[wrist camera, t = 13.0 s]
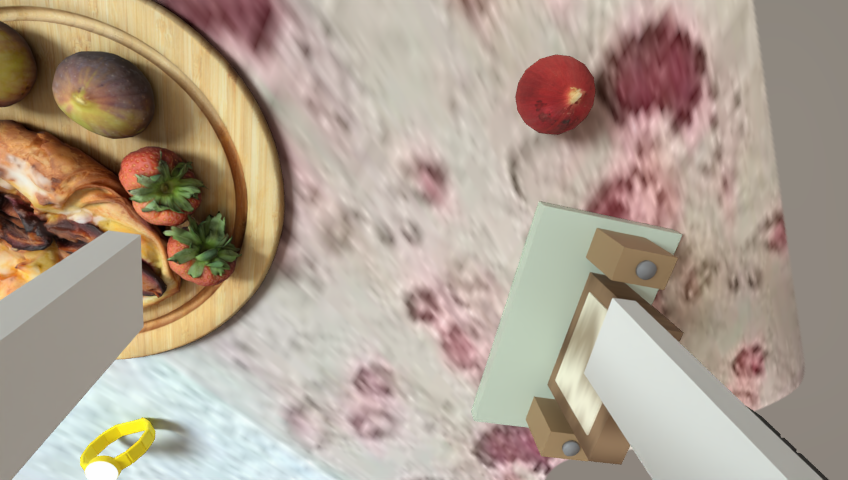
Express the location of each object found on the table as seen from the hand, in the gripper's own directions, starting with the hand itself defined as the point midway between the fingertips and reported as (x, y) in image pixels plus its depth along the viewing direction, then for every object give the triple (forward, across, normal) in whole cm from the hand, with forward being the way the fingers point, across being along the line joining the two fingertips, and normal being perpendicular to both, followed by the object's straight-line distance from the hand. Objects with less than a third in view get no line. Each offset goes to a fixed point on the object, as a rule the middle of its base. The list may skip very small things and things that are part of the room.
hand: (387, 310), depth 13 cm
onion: (+28, +12, +6) cm, 32 cm away
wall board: (+28, +22, -15) cm, 38 cm away
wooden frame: (+26, +22, -15) cm, 38 cm away
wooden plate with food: (+29, -23, -8) cm, 38 cm away
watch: (+27, -20, -32) cm, 47 cm away
